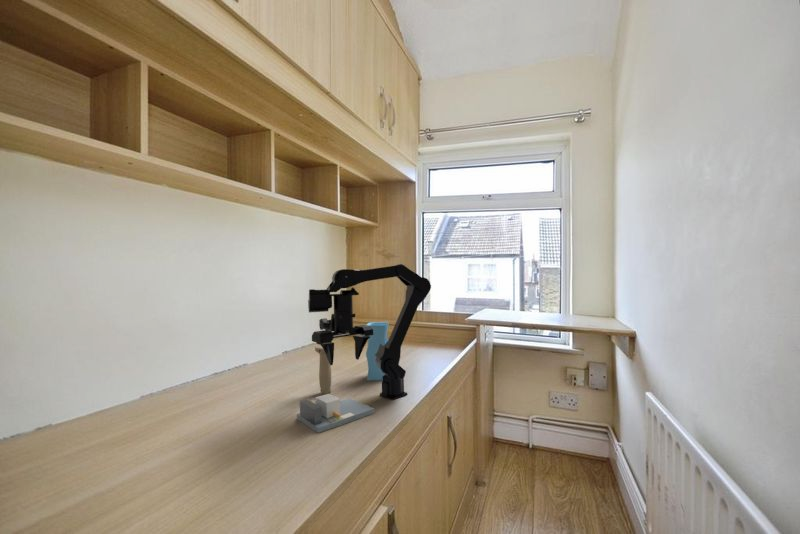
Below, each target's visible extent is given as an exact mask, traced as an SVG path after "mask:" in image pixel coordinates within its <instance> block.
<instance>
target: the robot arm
mask: <svg viewBox="0 0 800 534" xmlns="http://www.w3.org/2000/svg"><path fill="white" fill-rule="evenodd" d="M389 278H397V279H398V280H399V281H400V282H401V283H402V284H404V285H405V286H406V290H405V298H404V299H405V300H404V303H403V306H402V308H401V310H400V313H399V314H398V317H397V320H396V321H395V324H394V326H393V329H392V331H391V333H390V336H389V337H388V338H389V339H387V341H388V342H387V343H386V344H385V345H384V346H383V345H382V344H380V345H379V349H378V351H377V353H376V354H375V356H376V359H375V362H376V365H377V366H378V367H379V368H380V369H381V370H382V372H383V373H384V374H385V375H384V376H382V380H381V392H379V396H381V397H382V396H383V397H384V398H386V399H390V400H396V399H399V398H401V397H405V396H408V392H406V391H405V376H406V373H407V371H406V370H405V369H404V368H403V367H402V366H401V365H400V359H401V354H402V353H401V352H402V350H401V349H402V345H403V343H404V340H405V338H406V335H407V334H408V330H409V329H410V326H411V324H412V321H413V318H414V316H415V315H416V313H417V310H418V307H419V306H420V305H421V304H422V302H423V301H425V299H426V298H427V296H428V294H429V293H430V291H431V289H432V285H431V282H430V280H429V279H428V278H426V277H423V276H420V275H419V274H417V273H416V272H414V271H413V270H411V269H409V268H408V267H407V266H406V265H405V264H403V263H399V264H398V263H397V264H395V265H389V266H384V267H376V268H369V269H351V268H349V269H345V268H344V269H339V270H336V271H334V273H333V274H332V276H331V282H330V284H328V286H327V287H326V289H309V290H308V300H307V308H308V313H322V312H323V313H324V312H329V309H331V308H333V313H331V315H330V316H331V318H330V319H328V318H320V319H319V321H318V322H319V324H318V325H319V329H320V330H318V331H317V330H315V331H313V332H312V335H311V342H313V343H316V345H318V346H322V348H323V349H324V351H325V354H326V356H327V359H328V361H329V364H330V365H331V366H333V364H334V360H335V359H334V356H335V353H334V352H335V342H332V341H333V340H334V339H337V338H344V337H350V336H352V337H353V340H354V356H355V360H359V359H360V357H361V355H362V352H363V350H364V347H365V346H366V343H368V339H369V338H370V335H374V334H373V328H372V326H368V325H367V324H360V325H359V324H358V325H354V318H356V313H354V308H353V307H354V306H353V305H354V304H353V302H354V301H353V299H354V298H353V296H359V295H360V293H359V292H358V291H357V290H356V288H355V287H353V286H357V285H359V284H362V283H366V282H368V281H369V282H370V281H377V280H384V279H389ZM349 288H350V289H349ZM338 291H339V293H337V292H338Z"/></svg>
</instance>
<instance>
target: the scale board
mask: <svg viewBox="0 0 800 534" xmlns="http://www.w3.org/2000/svg"><path fill="white" fill-rule="evenodd" d="M373 414H375V408H374V407H371V406H369V405H367V404H365V403H363V402H360V401H358V400H356V399H353V398H351V397H349V398H345V399H342V400H340V417H341V418H337V417H335V416H333V417H330V418H325V417H323V416H322V423H320V424H318V425H313V424H311V423H310V422H308V421H307V420H305V419H304V418H302V417H300V412H299V413H297V414H296V419H297V420H298V421H300V422H301V423H303V424H304V425H306V426H307V427H308V428H310V429H312V430H314V431H315V432H316V433H318V434H319V433H323V432H326V431H328V430H330V429H333V428H336V427H338V426H343V425H345V424H347V423H350V422H353V421H356V420H359V419H362V418H364V417H367V416H369V415H373Z"/></svg>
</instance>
